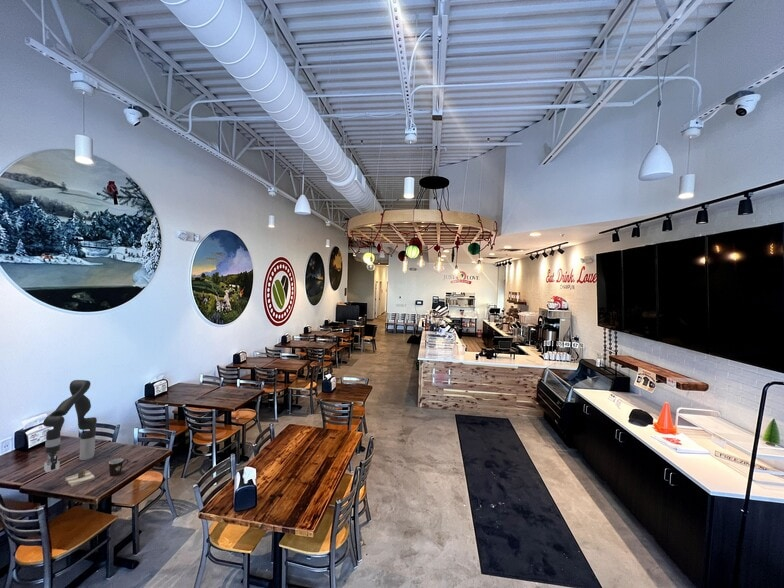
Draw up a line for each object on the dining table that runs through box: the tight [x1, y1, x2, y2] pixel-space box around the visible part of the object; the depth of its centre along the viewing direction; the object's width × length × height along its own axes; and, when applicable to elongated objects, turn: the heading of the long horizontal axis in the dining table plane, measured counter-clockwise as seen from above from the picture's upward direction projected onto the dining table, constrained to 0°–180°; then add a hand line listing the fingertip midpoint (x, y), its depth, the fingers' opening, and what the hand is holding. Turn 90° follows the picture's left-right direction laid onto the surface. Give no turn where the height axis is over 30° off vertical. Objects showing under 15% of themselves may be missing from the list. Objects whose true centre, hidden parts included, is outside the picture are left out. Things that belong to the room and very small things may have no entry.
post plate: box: [64, 468, 96, 488], centre depth 243 cm, size 16×13×6 cm
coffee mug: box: [108, 458, 129, 478], centre depth 252 cm, size 12×9×10 cm
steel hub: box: [43, 458, 61, 473], centre depth 231 cm, size 6×6×5 cm
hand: (51, 467), depth 231 cm, fingers closed on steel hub, 6 cm apart
